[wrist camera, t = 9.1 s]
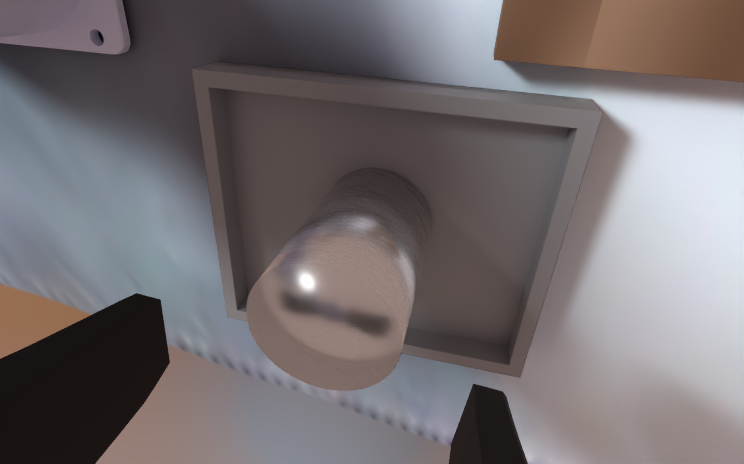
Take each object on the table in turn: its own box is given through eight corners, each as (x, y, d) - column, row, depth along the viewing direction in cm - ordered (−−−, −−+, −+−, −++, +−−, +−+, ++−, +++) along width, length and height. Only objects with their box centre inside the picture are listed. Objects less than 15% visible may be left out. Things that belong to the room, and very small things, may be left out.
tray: (243, 295, 20) (227, 317, 19) (216, 61, 15) (191, 69, 14) (517, 349, 18) (520, 377, 17) (592, 99, 13) (602, 112, 12)
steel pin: (315, 246, 17) (240, 358, 12) (335, 152, 15) (254, 239, 10) (413, 280, 17) (378, 410, 12) (447, 189, 15) (423, 299, 10)
